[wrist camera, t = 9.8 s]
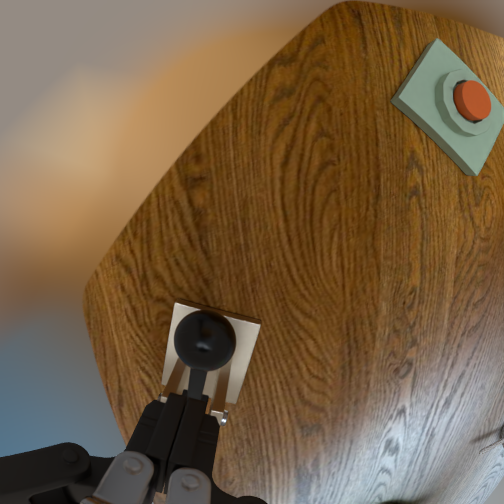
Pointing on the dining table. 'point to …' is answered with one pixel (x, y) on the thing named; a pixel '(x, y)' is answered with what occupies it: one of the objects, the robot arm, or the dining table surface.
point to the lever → (203, 347)
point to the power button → (472, 100)
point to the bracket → (218, 381)
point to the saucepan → (502, 441)
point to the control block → (448, 108)
